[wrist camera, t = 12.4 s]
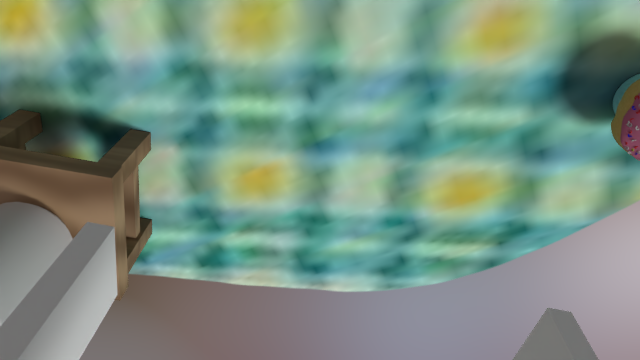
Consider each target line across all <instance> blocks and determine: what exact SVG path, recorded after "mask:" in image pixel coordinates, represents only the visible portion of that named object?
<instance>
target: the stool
mask: <svg viewBox="0 0 640 360" xmlns="http://www.w3.org/2000/svg"><path fill="white" fill-rule="evenodd" d="M42 131H43V130H42V124H41V117H40V113H36V112H31V111H25V110H18V111H16V112H14V113H13V114H11V115H9V116H8V117H6V118H4V119H3V120H1V121H0V204H3V203H7V202H22V203H28V204H33V205H36V206H39V207H42V208H44V209H47V210H49V211H50V212H52V213H53V214H55V215H56V216H58V217H59V218H60V220H61V221H62V222H63V223H64V224H65V225H66V227H67V229H68V230H69V232H70V234H71V236H72V238H74V237H75V236H76V235H77V234H78V232H79V231H80V230H81V229H82V228H83V226H84V225H85V224H86V223H87V222H91V223H96V224H102V225H107V226H112V227H114V229H115V251H116V273H117V296H116V298H115V300H121V298H122V296H123V295H124V293H125V291H126V289H127V288H128V273H129V271H130V269H131V268H132V266H133V264H134V263H135V261H136V259H137V258H138V256H139V254H140V253H141V251H142V249H143V248H144V246H145V244H146V243H147V241H148V239H149V238H150V236H151V234H152V220H151V219H145V218H140V210H139V178H138V165H139V164H140V162H141V161H142V160H143V159H144V158H145V156H146V155H147V154H148V153H149V151H150V150H151V133H150V132H145V131H139V130H133V129H130V130H129V131H128V132H127V133H126V134H125V135H124V136H123V137H122V138H121V139H120V140H119V141H118V142H117V143H116V144H115V145H114V146H113V147H112V148H111V149H110V150H109V151H108V152H107V153H106V154H105V155H104V156H103V157H102V158H101V159H100V160H99V161H98V162H92V161H87V160H81V159H75V158H69V157H63V156H57V155H51V154H45V153H40V152H34V151H28V150H26V147H25V143H27V142H28V141H29V140H31V139H32V138H34V137H35V136H37V135H38V134H39V133H41V132H42Z"/></svg>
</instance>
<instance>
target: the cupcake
mask: <svg viewBox="0 0 640 360" xmlns="http://www.w3.org/2000/svg"><path fill="white" fill-rule="evenodd" d="M613 110H614V113H615V114H616V115H615V117H614V119H613V120H612V122H611V130H612V134H613V137H614V139H615V140H616V142H617V143H618V144H619V145H620V146H621V147H622V148H623V149H624V150H625V151H626V152H628V154H630V155H632V156H633V157H634V158H636V159H637V160H639V161H640V74H637V75H635V76H633V77H631V78H629V79H628V80H626V81H625V82H624V83H623V84H622V85H621V86H620V87H619V89H618V90H617V92H616V93H615V96H614V98H613Z"/></svg>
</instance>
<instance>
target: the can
mask: <svg viewBox="0 0 640 360" xmlns="http://www.w3.org/2000/svg"><path fill="white" fill-rule="evenodd" d="M72 240H73V238H72V236H71V234H70V232H69V230H68V229H67V227H66V225H65V224H64V223H63V222H62V221H61V220H60V218H59V217H58V216H56V215H55V214H53V213H52V212H50V211H49V210H47V209H44V208H42V207H39V206H36V205H33V204H28V203H22V202H7V203H3V204H0V326H1V325H2V324H3V323H4V322H5V320H6V319H7V318H8V317H9V316H10V314H11V313H12V312H13V311H14V310H15V308H16V307H17V306H18V305H19V304H20V302H21V301H22V300H23V299H24V298H25V296H26V295H27V294H28V293H29V291H30V290H31V289H32V288H33V287H34V285H35V284H36V283H37V282H38V281H39V279H40V278H41V277H42V276H43V275H44V273H45V272H46V271H47V270H48V269H49V267H50V266H51V265H52V264H53V263H54V261H55V260H56V259H57V258H58V257H59V255H60V254H61V253H62V252H63V250H64V249H65V248H66V247H67V246H68V244H69V243H70V242H71V241H72Z"/></svg>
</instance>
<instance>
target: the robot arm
mask: <svg viewBox="0 0 640 360" xmlns="http://www.w3.org/2000/svg"><path fill="white" fill-rule="evenodd" d="M116 296H117V273H116V251H115V229H114V227H112V226H107V225H102V224H96V223H91V222H87V223H86V224H85V225H84V226H83V228H82V229H81V230H80V231H79V232H78V234H77V235H76V236H75V237H74V238H73V240H72V241H71V242H70V243H69V244H68V246H67V247H66V248H65V249H64V250H63V252H62V253H61V254H60V255H59V257H58V258H57V259H56V260H55V261H54V263H53V264H52V265H51V266H50V267H49V269H48V270H47V271H46V272H45V273H44V275H43V276H42V277H41V278H40V279H39V281H38V282H37V283H36V284H35V285H34V287H33V288H32V289H31V290H30V291H29V293H28V294H27V295H26V296H25V298H24V299H23V300H22V301H21V302H20V304H19V305H18V306H17V307H16V308H15V310H14V311H13V312H12V313H11V314H10V316H9V317H8V318H7V319H6V320H5V322H4V323H3V324H2V325H1V326H0V360H79V359H80V357H81V355H82V354H83V352H84V350H85V349H86V347H87V345H88V343H89V342H90V340H91V338H92V337H93V335H94V333H95V332H96V330H97V328H98V327H99V325H100V323H101V322H102V320H103V318H104V316H105V315H106V313H107V311H108V310H109V308H110V306H111V305H112V303H113V301H114V300H115V298H116ZM513 360H598V358H597V357H596V355H595V353H594V351H593V349H592V348H591V346H590V344H589V342H588V341H587V339H586V337H585V335H584V334H583V332H582V330H581V329H580V327H579V325H578V323H577V321H576V320H575V318H574V316H573V315H572V313H571V312H567V311H562V310H557V309H551V308H547V310H546V311H545V313H544V314H543V315H542V317H541V319H540V320H539V322H538V323H537V324H536V326H535V327H534V329H533V330H532V332H531V333H530V335H529V337H528V338H527V339H526V341H525V342H524V344H523V345H522V347H521V348H520V350H519V351H518V353H517V354H516V356H515V357H514V359H513Z"/></svg>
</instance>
